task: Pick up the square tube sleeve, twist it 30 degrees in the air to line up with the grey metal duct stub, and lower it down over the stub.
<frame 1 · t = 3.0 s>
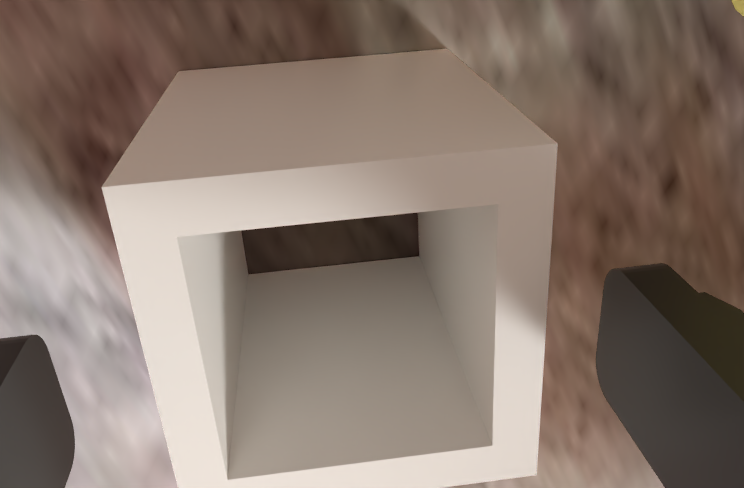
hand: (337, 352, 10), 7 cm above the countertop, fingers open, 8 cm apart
square tube sleeve: (326, 185, 17), on the countertop
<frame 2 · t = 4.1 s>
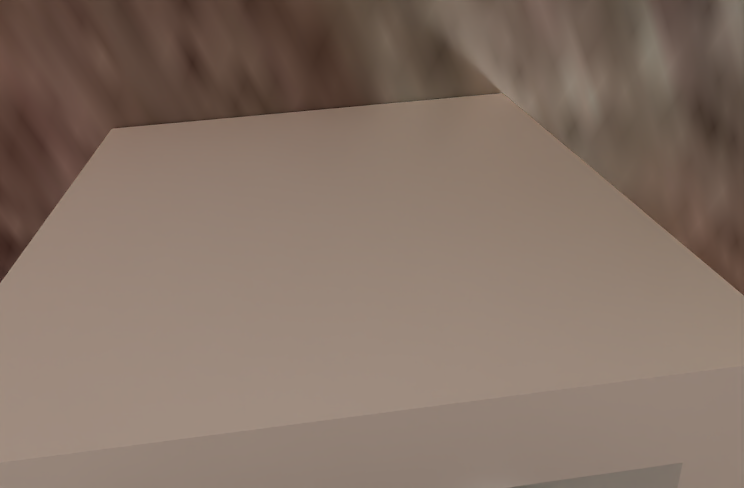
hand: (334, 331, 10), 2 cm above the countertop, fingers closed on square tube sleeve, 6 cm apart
square tube sleeve: (328, 279, 12), on the countertop, touching gripper
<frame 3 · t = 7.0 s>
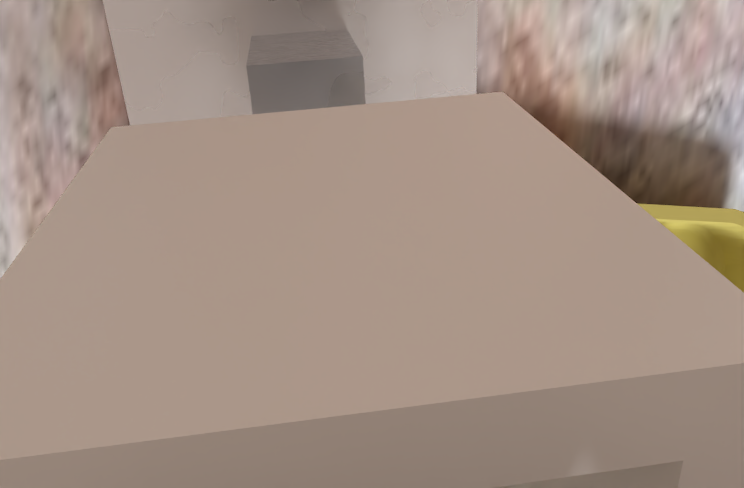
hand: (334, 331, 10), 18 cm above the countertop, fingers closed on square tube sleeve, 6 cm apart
plastic component: (516, 282, 32), on the countertop
duct stub: (303, 73, 26), on the countertop
square tube sleeve: (328, 278, 12), point 16 cm above the countertop, touching gripper
when the fingers open (4 cm above the countertop, at t = 10.0 s): square tube sleeve drops 1 cm, resting on duct stub.
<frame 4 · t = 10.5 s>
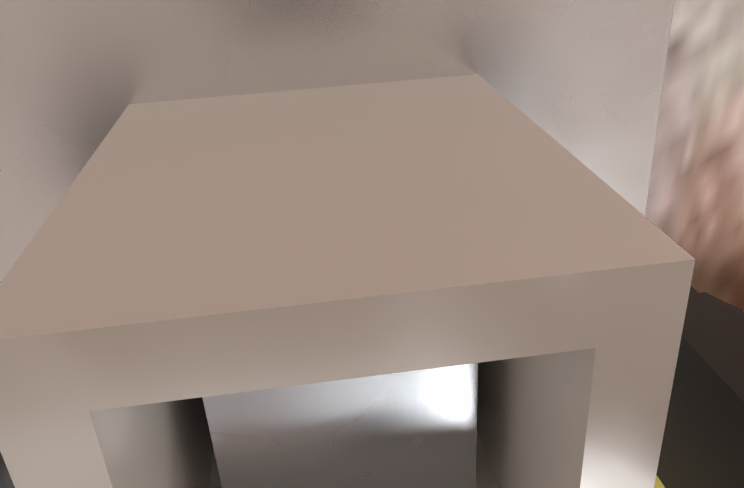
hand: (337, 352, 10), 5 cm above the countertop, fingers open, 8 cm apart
duct stub: (318, 220, 14), on the countertop
square tube sleeve: (322, 243, 13), point 1 cm above the countertop, touching duct stub
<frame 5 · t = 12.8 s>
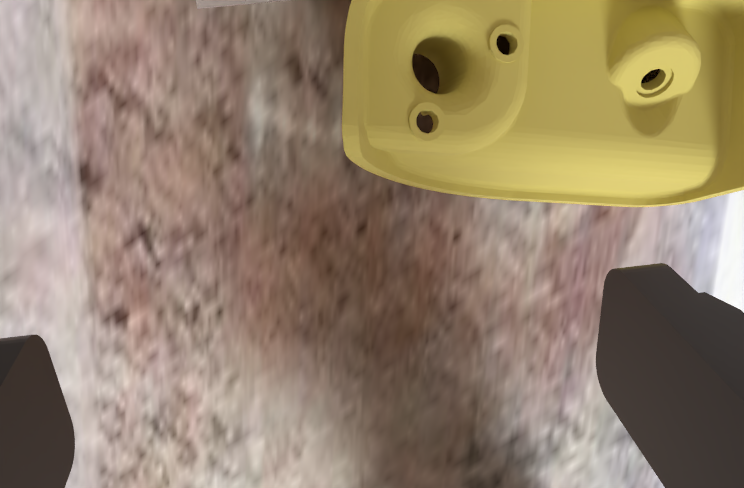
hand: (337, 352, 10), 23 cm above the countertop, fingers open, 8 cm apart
plastic component: (533, 66, 33), on the countertop
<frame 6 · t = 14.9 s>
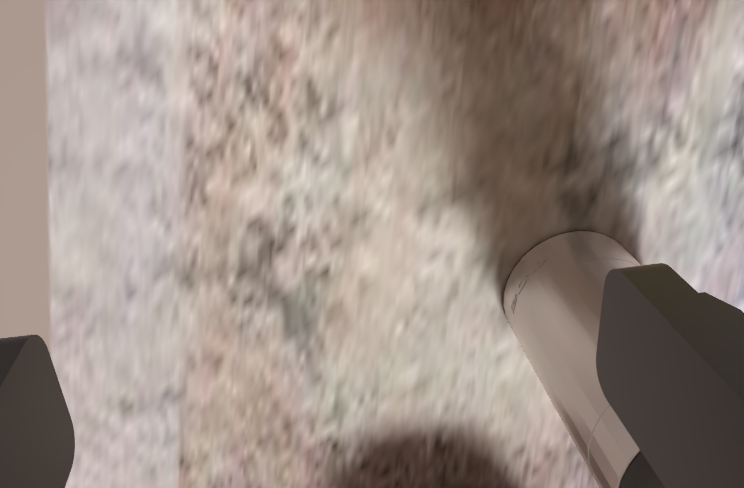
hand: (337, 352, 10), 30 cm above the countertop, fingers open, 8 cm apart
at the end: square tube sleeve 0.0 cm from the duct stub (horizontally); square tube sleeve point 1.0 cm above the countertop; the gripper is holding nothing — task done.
